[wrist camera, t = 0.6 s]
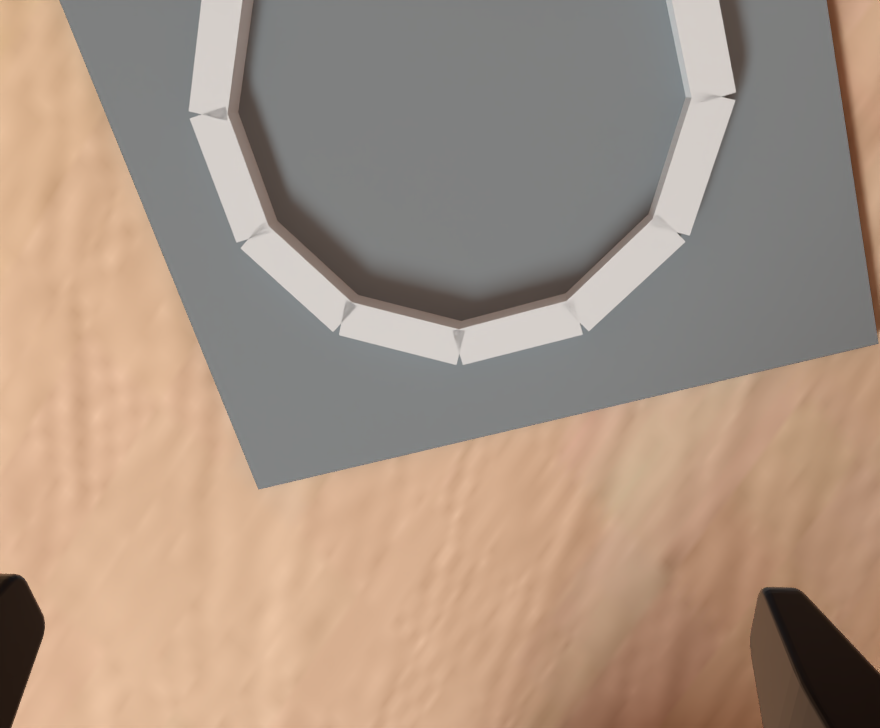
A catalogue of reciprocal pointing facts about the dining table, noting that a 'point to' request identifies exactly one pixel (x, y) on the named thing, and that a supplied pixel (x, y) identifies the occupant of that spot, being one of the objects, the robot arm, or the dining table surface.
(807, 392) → the dining table surface
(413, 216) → the ring mat
